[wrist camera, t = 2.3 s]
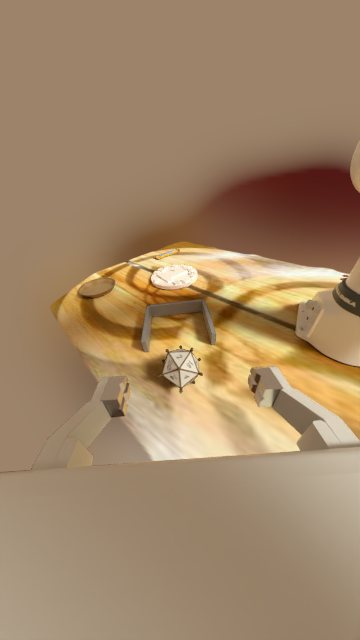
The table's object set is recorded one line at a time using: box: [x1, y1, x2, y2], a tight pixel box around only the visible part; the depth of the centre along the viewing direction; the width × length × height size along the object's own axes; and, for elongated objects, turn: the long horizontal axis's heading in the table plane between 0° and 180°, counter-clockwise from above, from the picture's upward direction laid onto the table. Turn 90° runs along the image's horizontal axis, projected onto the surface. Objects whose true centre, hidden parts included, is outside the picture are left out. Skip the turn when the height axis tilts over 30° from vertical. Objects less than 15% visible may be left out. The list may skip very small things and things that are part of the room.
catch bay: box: [141, 299, 216, 352], centre depth 46 cm, size 15×18×4 cm
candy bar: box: [155, 249, 180, 259], centre depth 94 cm, size 17×4×2 cm, turn 131°
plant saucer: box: [78, 278, 115, 298], centre depth 68 cm, size 15×15×3 cm
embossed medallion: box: [151, 264, 197, 290], centre depth 70 cm, size 20×20×3 cm
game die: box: [158, 345, 203, 393], centre depth 33 cm, size 9×8×10 cm
